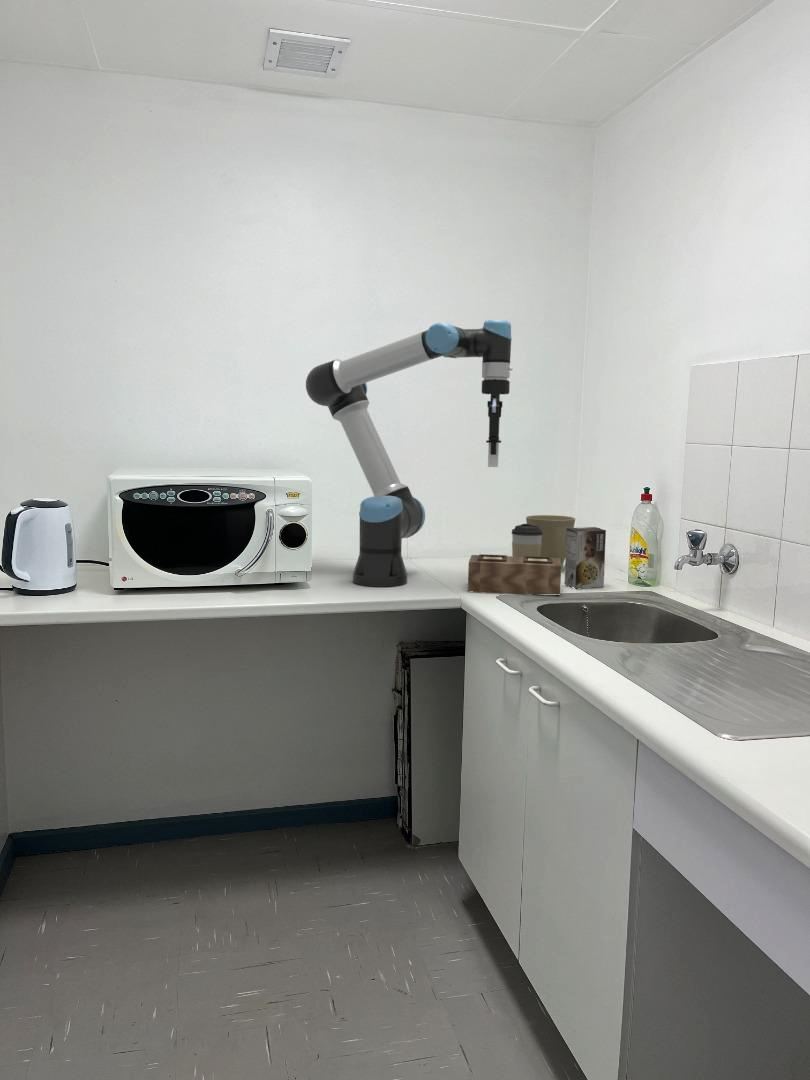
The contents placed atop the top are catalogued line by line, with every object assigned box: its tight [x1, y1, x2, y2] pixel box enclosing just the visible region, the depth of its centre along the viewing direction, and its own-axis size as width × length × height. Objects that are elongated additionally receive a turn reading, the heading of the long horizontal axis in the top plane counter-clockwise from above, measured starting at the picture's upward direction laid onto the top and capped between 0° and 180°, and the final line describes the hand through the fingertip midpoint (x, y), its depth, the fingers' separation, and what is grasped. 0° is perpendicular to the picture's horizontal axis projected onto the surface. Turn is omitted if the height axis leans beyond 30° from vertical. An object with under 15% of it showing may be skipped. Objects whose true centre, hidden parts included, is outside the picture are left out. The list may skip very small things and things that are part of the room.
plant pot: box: [525, 514, 576, 568], centre depth 254 cm, size 15×15×16 cm
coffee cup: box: [511, 523, 543, 557], centre depth 241 cm, size 9×9×15 cm
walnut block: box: [467, 553, 562, 595], centre depth 222 cm, size 24×12×9 cm, turn 82°
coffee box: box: [563, 526, 607, 589], centre depth 227 cm, size 9×6×16 cm
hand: (493, 466), depth 226 cm, fingers closed
